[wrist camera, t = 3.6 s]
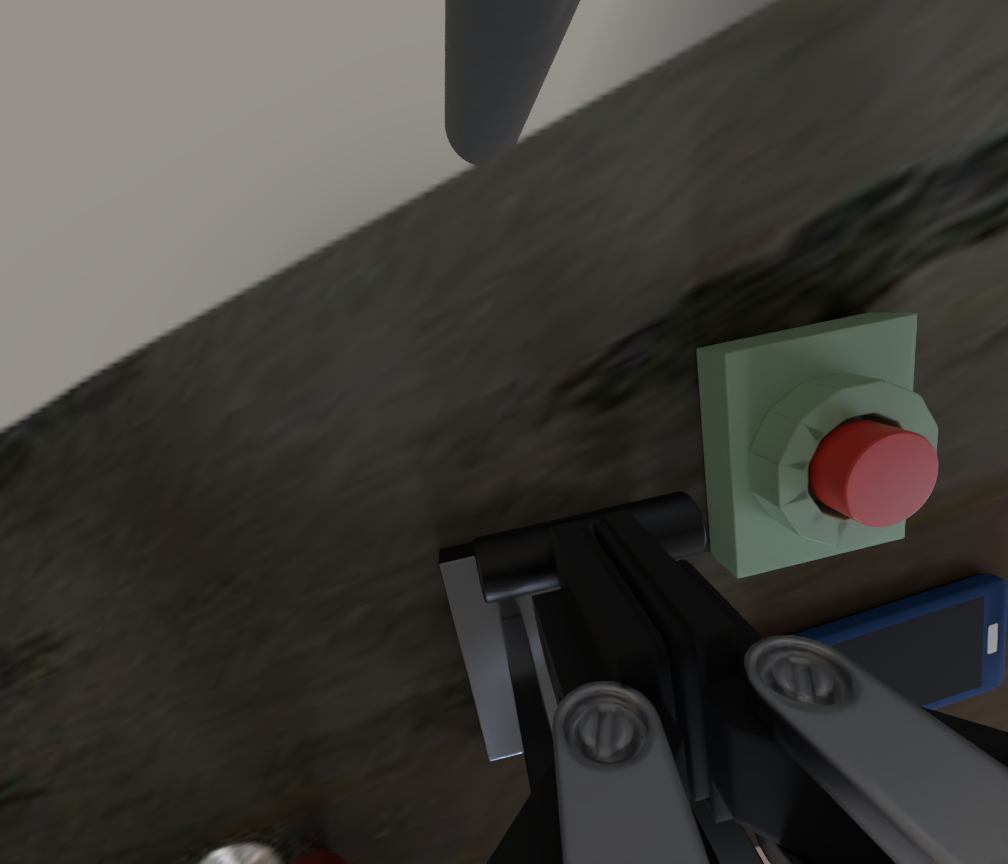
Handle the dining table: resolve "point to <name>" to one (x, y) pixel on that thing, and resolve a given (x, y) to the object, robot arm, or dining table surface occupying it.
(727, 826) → the lever bracket
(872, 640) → the cell phone
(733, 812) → the robot arm
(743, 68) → the dining table surface
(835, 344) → the button housing
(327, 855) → the onion
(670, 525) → the press lever
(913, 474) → the red button
